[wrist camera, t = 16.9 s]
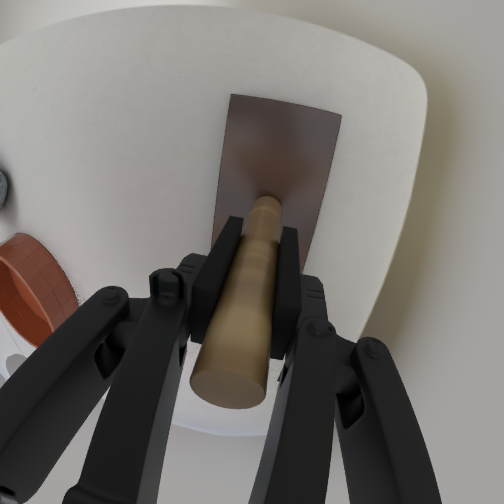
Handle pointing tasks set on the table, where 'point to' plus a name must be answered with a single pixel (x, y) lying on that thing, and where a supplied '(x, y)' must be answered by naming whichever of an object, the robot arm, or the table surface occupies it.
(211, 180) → the table surface
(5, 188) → the blue yarn skein
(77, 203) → the table surface
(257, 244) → the stick
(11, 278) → the bowl
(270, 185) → the brown board
